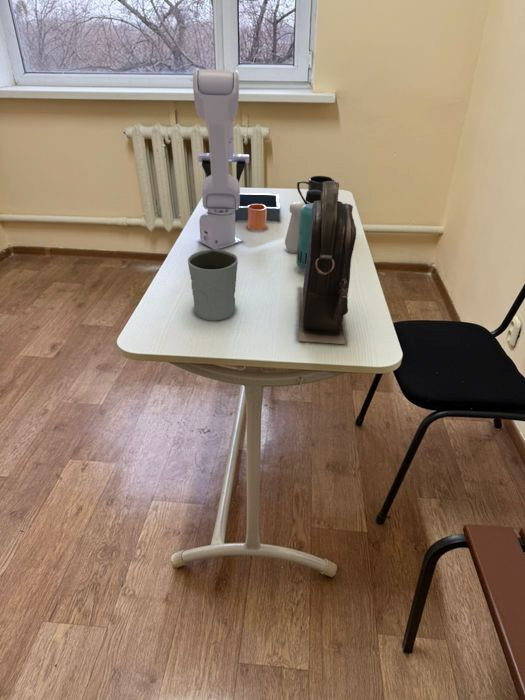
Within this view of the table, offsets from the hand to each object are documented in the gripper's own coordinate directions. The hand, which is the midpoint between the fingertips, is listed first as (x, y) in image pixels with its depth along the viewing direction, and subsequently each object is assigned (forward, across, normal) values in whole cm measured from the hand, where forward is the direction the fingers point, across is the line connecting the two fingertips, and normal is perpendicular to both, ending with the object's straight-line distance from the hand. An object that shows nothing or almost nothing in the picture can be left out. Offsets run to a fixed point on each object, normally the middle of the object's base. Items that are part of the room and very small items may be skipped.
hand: (224, 187), depth 140 cm
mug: (+11, -29, -14) cm, 34 cm away
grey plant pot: (+11, -1, +53) cm, 54 cm away
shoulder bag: (+11, -24, +54) cm, 60 cm away
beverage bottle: (+11, -23, +33) cm, 42 cm away
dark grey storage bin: (+10, -10, -7) cm, 16 cm away
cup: (+10, -10, +5) cm, 15 cm away
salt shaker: (+11, -20, +21) cm, 31 cm away
